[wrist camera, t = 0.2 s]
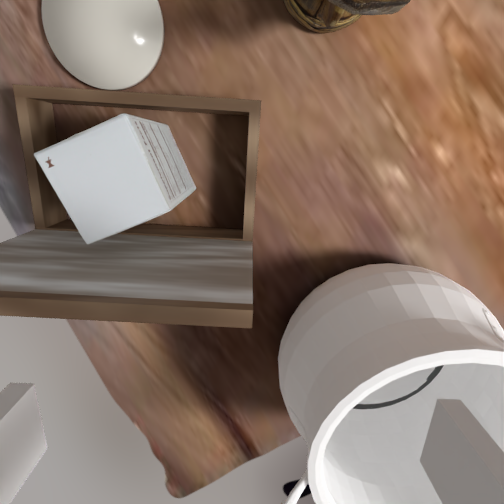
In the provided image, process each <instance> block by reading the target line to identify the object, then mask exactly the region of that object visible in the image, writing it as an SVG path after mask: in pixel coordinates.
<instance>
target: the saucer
mask: <svg viewBox="0 0 504 504" xmlns="http://www.w3.org/2000/svg"><path fill="white" fill-rule="evenodd" d="M42 21H43V27H44V31H45V34H46V37H47V40H48V42H49V45H50V47H51V49H52V50H53V52H54V54H55V56H56V57H57V58H58V60H59V61H60V63H61V64H62V65H63V66H64V67H65V68H66V69H67V70H68V71H69V72H70V73H71V74H72V75H73V76H75V77H76V78H77V79H79V80H81V81H82V82H84V83H86V84H88V85H91V86H93V87H96V88H99V89H103V90H110V91H119V90H125V89H128V88H131V87H134V86H136V85H138V84H139V83H141V82H142V81H143V80H145V79H146V78H147V77H148V76H149V75H150V74H151V72H152V71H153V70H154V68H155V66H156V65H157V63H158V61H159V58H160V56H161V53H162V49H163V44H164V20H163V15H162V11H161V7H160V4H159V2H158V0H42Z"/></svg>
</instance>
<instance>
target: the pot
mask: <svg viewBox="0 0 504 504" xmlns="http://www.w3.org/2000/svg"><path fill="white" fill-rule="evenodd" d="M278 367H279V382H280V390H281V393H282V397H283V400H284V403H285V406H286V408H287V411H288V413H289V416H290V418H291V420H292V422H293V423H294V425H295V427H296V428H297V430H298V432H299V433H300V435H301V436H302V437H303V439H304V440H305V441H306V443H307V446H308V454H307V468H306V471H305V472H304V475H303V476H302V478H301V479H300V481H299V482H298V483H297V485H296V486H295V487H294V488H293V490H292V491H291V493H290V494H289V496H288V498H287V499H286V500H285V501H282V503H281V504H297V501H298V499H299V497H300V495H301V494H302V492H303V490H304V489H305V487H306V485H307V484H308V483H309V486H310V489H311V493H312V496H313V499H314V501H315V503H316V504H442V502H441V500H440V498H439V497H438V495H437V493H436V491H435V489H434V487H433V485H432V483H431V481H430V480H429V478H428V476H427V474H426V472H425V470H424V468H423V466H422V465H421V463H420V457H421V454H422V450H423V447H424V443H425V440H426V436H427V433H428V429H429V426H430V422H431V419H432V415H433V412H434V408H435V405H436V402H437V399H459V400H461V401H462V402H463V403H464V405H465V406H466V407H467V408H468V409H469V411H470V412H471V413H472V414H473V416H474V417H475V418H476V419H477V420H478V422H479V423H480V424H481V425H482V427H483V428H484V429H485V430H486V431H487V433H488V434H489V435H490V436H491V437H492V439H493V440H494V441H495V442H496V444H497V445H498V446H499V447H500V448H501V450H502V451H503V452H504V330H503V329H502V327H501V326H500V324H499V322H498V321H497V319H496V318H495V316H494V315H493V314H492V313H491V312H490V311H489V310H488V308H487V307H486V306H485V305H484V304H483V303H482V302H481V301H480V300H479V299H478V298H477V297H476V296H475V295H473V294H472V293H471V292H470V291H469V290H467V289H466V288H464V287H462V286H461V285H459V284H457V283H456V282H454V281H452V280H451V279H449V278H447V277H445V276H444V275H442V274H440V273H438V272H435V271H432V270H429V269H426V268H422V267H419V266H411V265H402V264H393V263H384V264H370V265H365V266H361V267H357V268H354V269H350V270H347V271H345V272H343V273H341V274H338V275H336V276H334V277H332V278H330V279H328V280H327V281H326V282H324V283H323V284H321V285H320V286H318V287H317V288H315V289H314V290H313V291H312V292H311V293H310V294H309V295H308V296H307V297H306V298H305V299H304V300H303V301H302V302H301V303H300V305H299V306H298V308H297V309H296V311H295V312H294V314H293V315H292V316H291V318H290V321H289V323H288V325H287V328H286V330H285V332H284V335H283V337H282V340H281V344H280V349H279V355H278Z"/></svg>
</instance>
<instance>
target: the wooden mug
mask: <svg viewBox="0 0 504 504" xmlns="http://www.w3.org/2000/svg"><path fill="white" fill-rule="evenodd" d="M283 1H284V3H285V5H286V8H287V10H288V12H289V13H290V14H291V15H292V16H293V17H294V18H295V19H296V20H297V22H298V23H300V24H302V25H303V26H305V27H306V28H308V29H310V30H312V31H314V32H318V33H328V32H334V31H337V30H340V29H342V28H345V27H347V26H349V25H350V24H352V23H353V22H355V21H356V20H358V19H359V18H360V16H361V15H382V14H393V13H396V12H398V11H399V10H400V9H402V8H403V7H404V6H405V5H406V4H407V3H409V2H410V0H283Z"/></svg>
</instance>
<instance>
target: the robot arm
mask: <svg viewBox="0 0 504 504" xmlns="http://www.w3.org/2000/svg"><path fill="white" fill-rule="evenodd" d="M46 449H47V443H46V438H45V433H44V428H43V423H42V419H41V414H40V409H39V404H38V399H37V394H36V390H35V385H34V384H31V383H28V384H27V383H10V384H9V385H7V387H6V388H4V390H2V391H1V392H0V504H10V503H11V502H12V500H13V499H14V497H15V496H16V494H17V493H18V491H19V490H20V488H21V487H22V485H23V484H24V482H25V481H26V479H27V478H28V476H29V475H30V473H31V472H32V470H33V469H34V468H35V466H36V465H37V463H38V462H39V460H40V459H41V457H42V456H43V454H44V453H45V451H46ZM420 463H421V465H422V466H423V468H424V470H425V472H426V474H427V476H428V478H429V480H430V481H431V483H432V485H433V487H434V489H435V491H436V493H437V495H438V497H439V498H440V500H441V502H442V504H504V452H503V451H502V450H501V448H500V447H499V446H498V445H497V444H496V442H495V441H494V440H493V439H492V437H491V436H490V435H489V434H488V433H487V431H486V430H485V429H484V428H483V427H482V425H481V424H480V423H479V422H478V420H477V419H476V418H475V417H474V416H473V414H472V413H471V412H470V411H469V409H468V408H467V407H466V406H465V405H464V403H463V402H462V401H461V400H459V399H437V402H436V405H435V408H434V412H433V415H432V419H431V422H430V426H429V429H428V433H427V436H426V440H425V443H424V447H423V450H422V454H421V457H420Z"/></svg>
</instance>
